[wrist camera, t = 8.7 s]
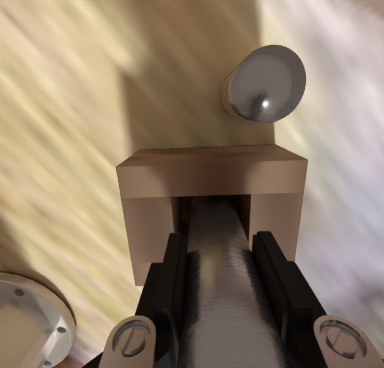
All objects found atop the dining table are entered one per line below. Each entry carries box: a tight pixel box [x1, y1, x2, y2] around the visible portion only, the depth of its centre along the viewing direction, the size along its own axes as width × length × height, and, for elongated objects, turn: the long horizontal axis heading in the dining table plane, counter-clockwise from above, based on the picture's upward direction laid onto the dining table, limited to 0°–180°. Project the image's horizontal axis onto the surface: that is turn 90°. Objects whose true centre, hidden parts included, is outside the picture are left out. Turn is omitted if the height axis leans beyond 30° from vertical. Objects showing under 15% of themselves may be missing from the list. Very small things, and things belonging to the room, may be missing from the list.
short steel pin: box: [220, 45, 306, 123], centre depth 12 cm, size 3×3×6 cm
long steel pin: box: [177, 195, 292, 368], centre depth 9 cm, size 3×3×14 cm
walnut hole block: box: [116, 144, 308, 286], centre depth 15 cm, size 10×8×5 cm
